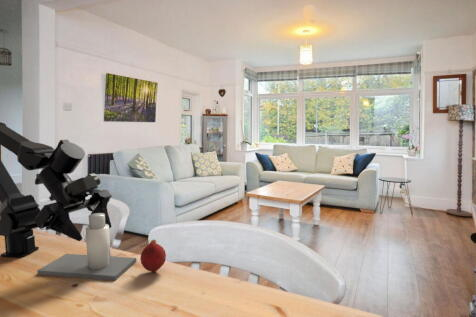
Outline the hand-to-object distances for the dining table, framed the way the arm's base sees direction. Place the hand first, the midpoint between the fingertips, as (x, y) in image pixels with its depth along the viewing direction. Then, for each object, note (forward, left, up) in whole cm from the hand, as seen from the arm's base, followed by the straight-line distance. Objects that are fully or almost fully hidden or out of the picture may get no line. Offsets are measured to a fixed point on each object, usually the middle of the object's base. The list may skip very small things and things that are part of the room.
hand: (96, 233), depth 78 cm
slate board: (-2, 0, -9) cm, 9 cm away
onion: (+15, 0, -9) cm, 17 cm away
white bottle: (0, 0, -8) cm, 8 cm away
